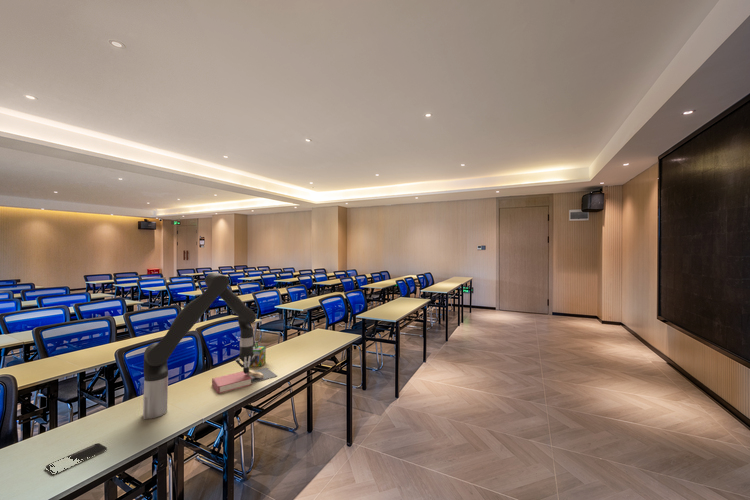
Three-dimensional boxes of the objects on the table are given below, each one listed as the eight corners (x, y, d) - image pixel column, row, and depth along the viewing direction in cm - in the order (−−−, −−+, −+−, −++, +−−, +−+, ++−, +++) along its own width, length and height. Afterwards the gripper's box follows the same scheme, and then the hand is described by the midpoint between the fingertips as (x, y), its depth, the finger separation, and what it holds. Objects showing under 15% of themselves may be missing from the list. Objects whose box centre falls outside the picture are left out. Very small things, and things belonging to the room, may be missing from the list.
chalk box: (260, 367, 202) (261, 345, 202) (247, 366, 202) (247, 345, 202) (266, 362, 211) (266, 341, 211) (253, 362, 211) (253, 341, 212)
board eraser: (249, 375, 177) (250, 372, 177) (245, 372, 181) (247, 369, 182) (262, 378, 182) (263, 375, 182) (259, 375, 186) (260, 372, 187)
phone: (44, 466, 105) (98, 442, 118) (44, 469, 105) (98, 445, 118) (53, 473, 102) (108, 448, 115) (53, 476, 102) (108, 451, 115)
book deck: (218, 393, 162) (218, 386, 162) (211, 385, 173) (212, 378, 173) (251, 384, 174) (251, 377, 174) (244, 377, 185) (244, 370, 185)
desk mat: (251, 383, 176) (251, 382, 176) (241, 374, 189) (241, 373, 189) (277, 376, 186) (277, 375, 187) (266, 368, 200) (266, 367, 200)
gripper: (236, 348, 172) (236, 378, 172) (259, 343, 181) (259, 372, 180) (233, 345, 178) (232, 374, 177) (255, 341, 186) (255, 368, 186)
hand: (246, 373), depth 179 cm, fingers closed
